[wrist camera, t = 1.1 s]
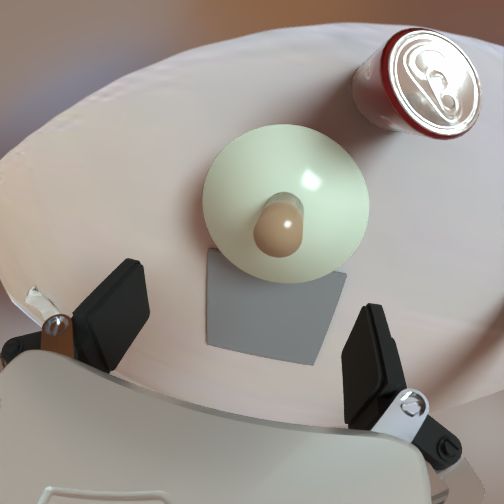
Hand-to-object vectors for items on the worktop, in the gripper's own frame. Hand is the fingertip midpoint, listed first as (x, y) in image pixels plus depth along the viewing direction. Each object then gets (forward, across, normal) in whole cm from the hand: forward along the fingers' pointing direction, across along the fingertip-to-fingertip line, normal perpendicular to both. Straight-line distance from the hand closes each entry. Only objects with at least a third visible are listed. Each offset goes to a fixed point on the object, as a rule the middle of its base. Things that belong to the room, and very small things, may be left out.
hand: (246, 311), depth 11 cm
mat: (+19, -1, +16) cm, 25 cm away
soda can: (+19, -9, -12) cm, 24 cm away
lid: (+14, -1, 0) cm, 14 cm away
